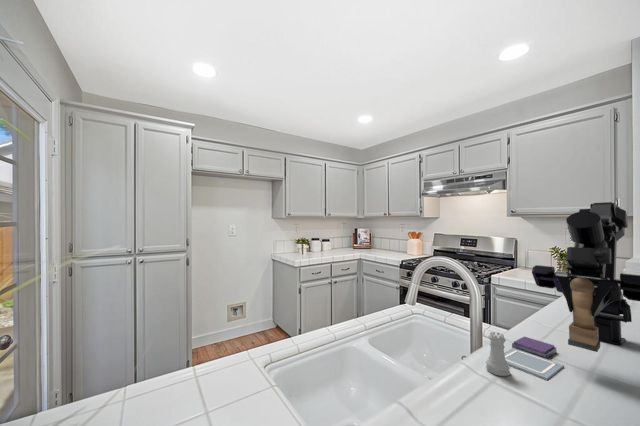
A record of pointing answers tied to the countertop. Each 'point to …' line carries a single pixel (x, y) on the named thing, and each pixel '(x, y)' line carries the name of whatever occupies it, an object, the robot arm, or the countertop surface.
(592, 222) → the robot arm
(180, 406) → the countertop surface
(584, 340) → the wooden ball finial
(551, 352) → the ink pad
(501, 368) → the rook chess piece
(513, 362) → the marked card
